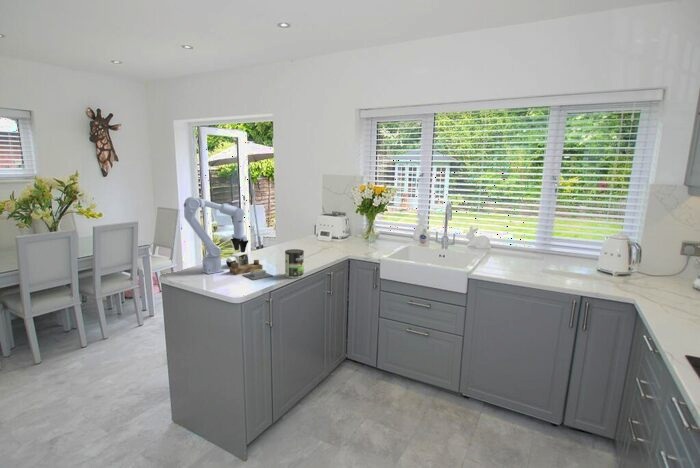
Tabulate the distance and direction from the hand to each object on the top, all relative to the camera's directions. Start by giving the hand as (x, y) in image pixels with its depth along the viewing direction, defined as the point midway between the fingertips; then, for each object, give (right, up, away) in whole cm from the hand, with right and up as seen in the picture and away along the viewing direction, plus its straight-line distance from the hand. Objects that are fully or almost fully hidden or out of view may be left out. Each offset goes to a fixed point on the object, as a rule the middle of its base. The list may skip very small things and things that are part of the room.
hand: (239, 251), depth 218 cm
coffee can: (+34, -13, -11) cm, 38 cm away
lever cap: (+14, -13, -13) cm, 23 cm away
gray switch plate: (+14, -13, -13) cm, 23 cm away
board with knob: (+5, -11, -4) cm, 13 cm away
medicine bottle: (0, -5, +11) cm, 12 cm away
